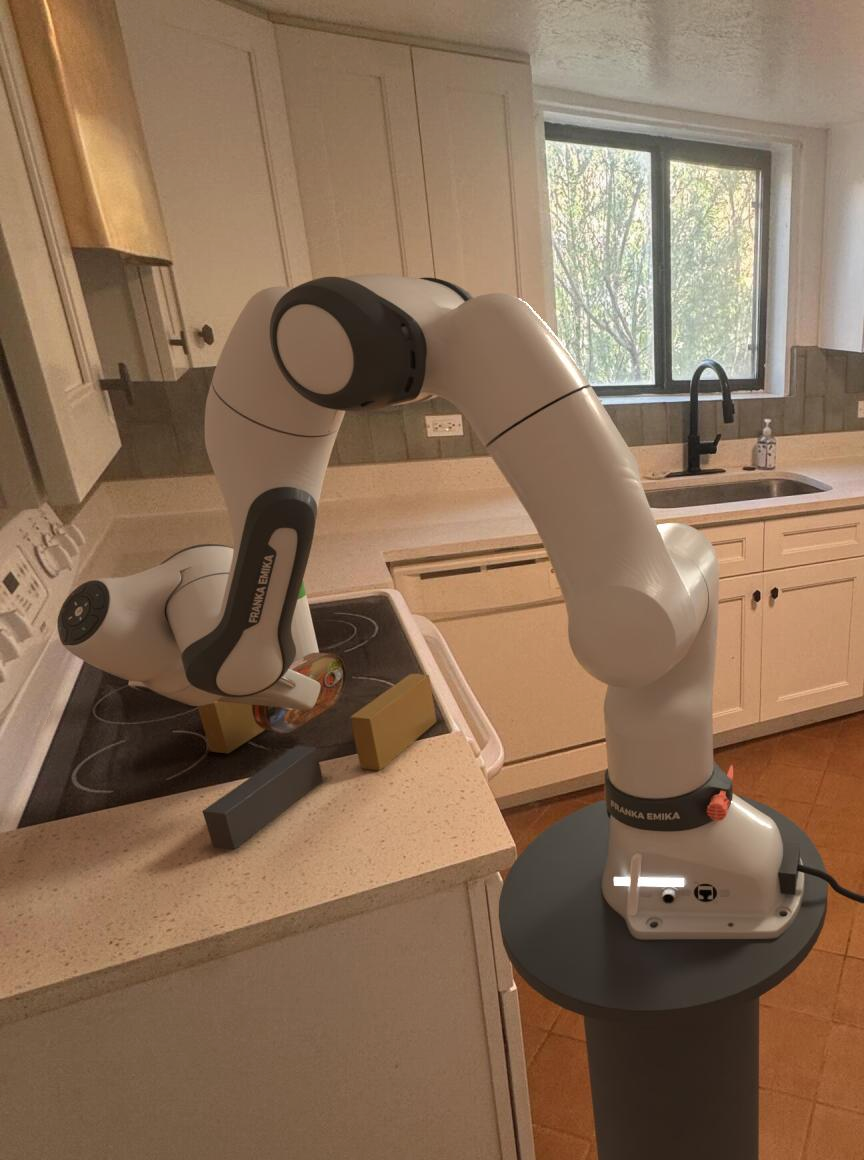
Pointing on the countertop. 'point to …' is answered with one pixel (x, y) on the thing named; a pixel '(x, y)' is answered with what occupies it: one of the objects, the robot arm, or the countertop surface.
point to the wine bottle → (303, 627)
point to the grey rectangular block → (262, 797)
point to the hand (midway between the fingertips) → (277, 703)
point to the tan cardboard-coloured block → (228, 725)
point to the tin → (332, 684)
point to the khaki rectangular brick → (393, 721)
